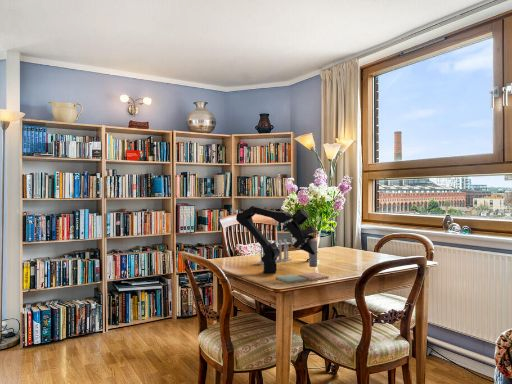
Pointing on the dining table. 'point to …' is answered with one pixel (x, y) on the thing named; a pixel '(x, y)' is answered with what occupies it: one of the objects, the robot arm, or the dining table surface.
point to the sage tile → (291, 278)
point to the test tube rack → (280, 251)
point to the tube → (314, 257)
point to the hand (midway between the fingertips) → (315, 253)
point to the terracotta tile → (313, 276)
